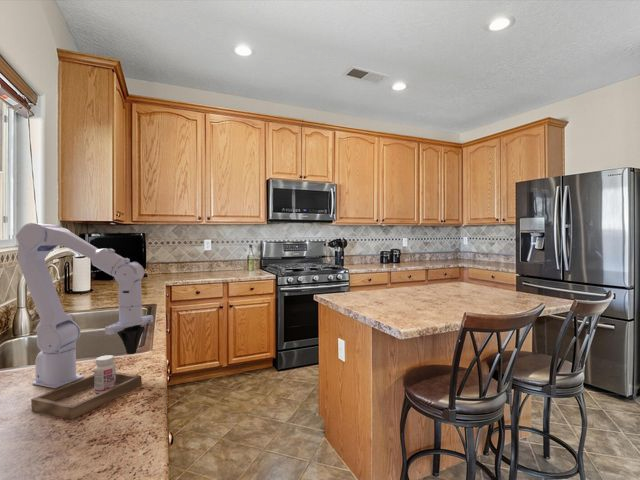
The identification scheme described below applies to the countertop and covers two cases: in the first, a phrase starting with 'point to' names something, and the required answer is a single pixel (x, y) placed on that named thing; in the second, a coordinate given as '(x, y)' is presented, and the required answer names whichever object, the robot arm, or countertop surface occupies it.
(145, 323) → the robot arm
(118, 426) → the countertop surface
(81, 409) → the walnut frame
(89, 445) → the countertop surface
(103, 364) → the pill bottle
